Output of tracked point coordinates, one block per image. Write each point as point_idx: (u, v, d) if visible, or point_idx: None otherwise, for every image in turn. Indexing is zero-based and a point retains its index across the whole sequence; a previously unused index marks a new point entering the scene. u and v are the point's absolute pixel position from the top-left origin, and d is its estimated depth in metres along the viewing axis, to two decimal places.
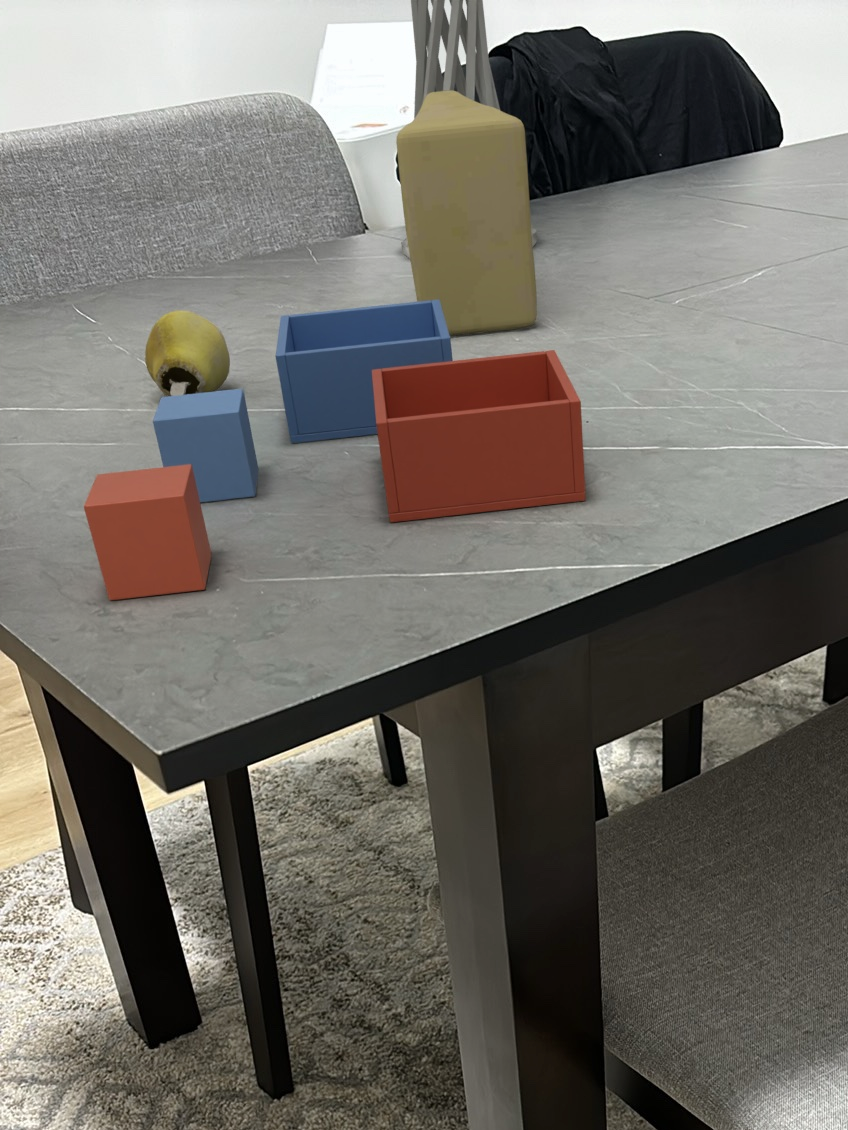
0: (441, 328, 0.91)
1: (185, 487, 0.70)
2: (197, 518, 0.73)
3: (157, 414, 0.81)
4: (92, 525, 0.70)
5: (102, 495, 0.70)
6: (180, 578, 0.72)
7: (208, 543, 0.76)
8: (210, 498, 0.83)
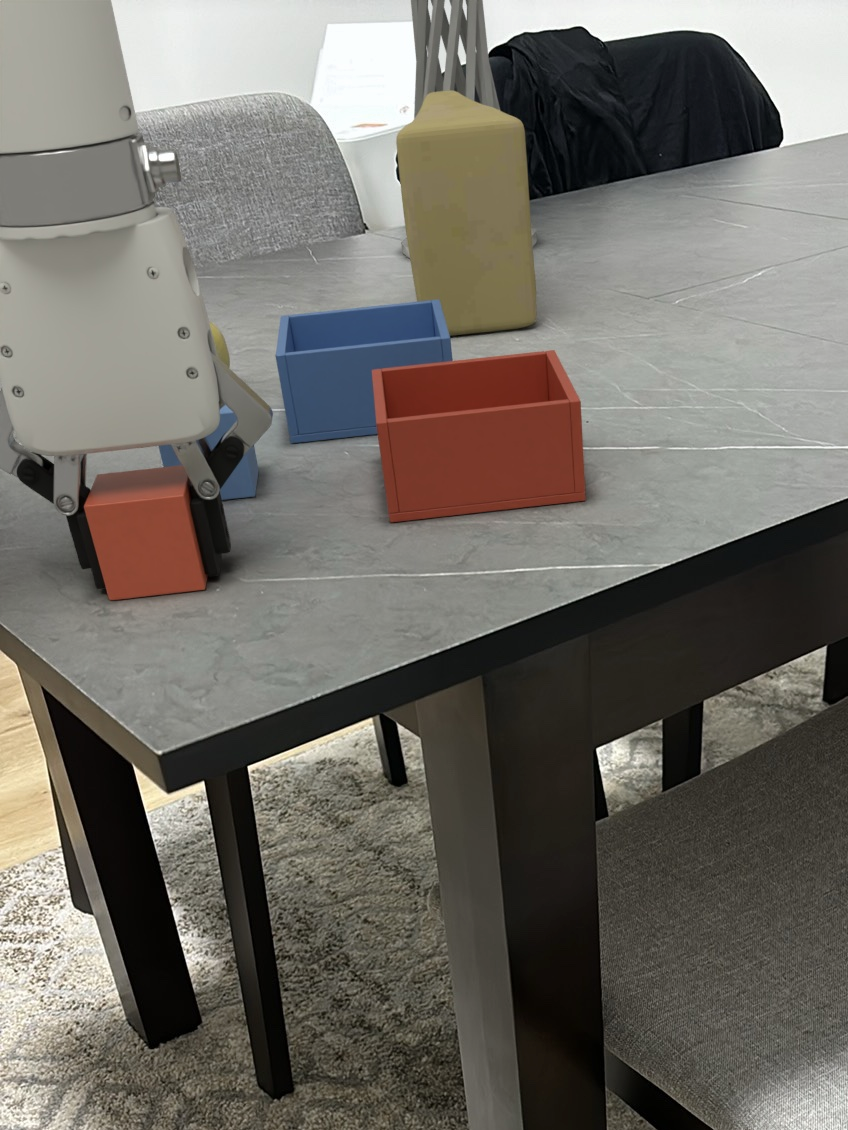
0: (441, 328, 0.91)
1: (185, 487, 0.70)
2: None
3: None
4: (92, 525, 0.70)
5: (102, 495, 0.70)
6: (180, 578, 0.72)
7: None
8: None
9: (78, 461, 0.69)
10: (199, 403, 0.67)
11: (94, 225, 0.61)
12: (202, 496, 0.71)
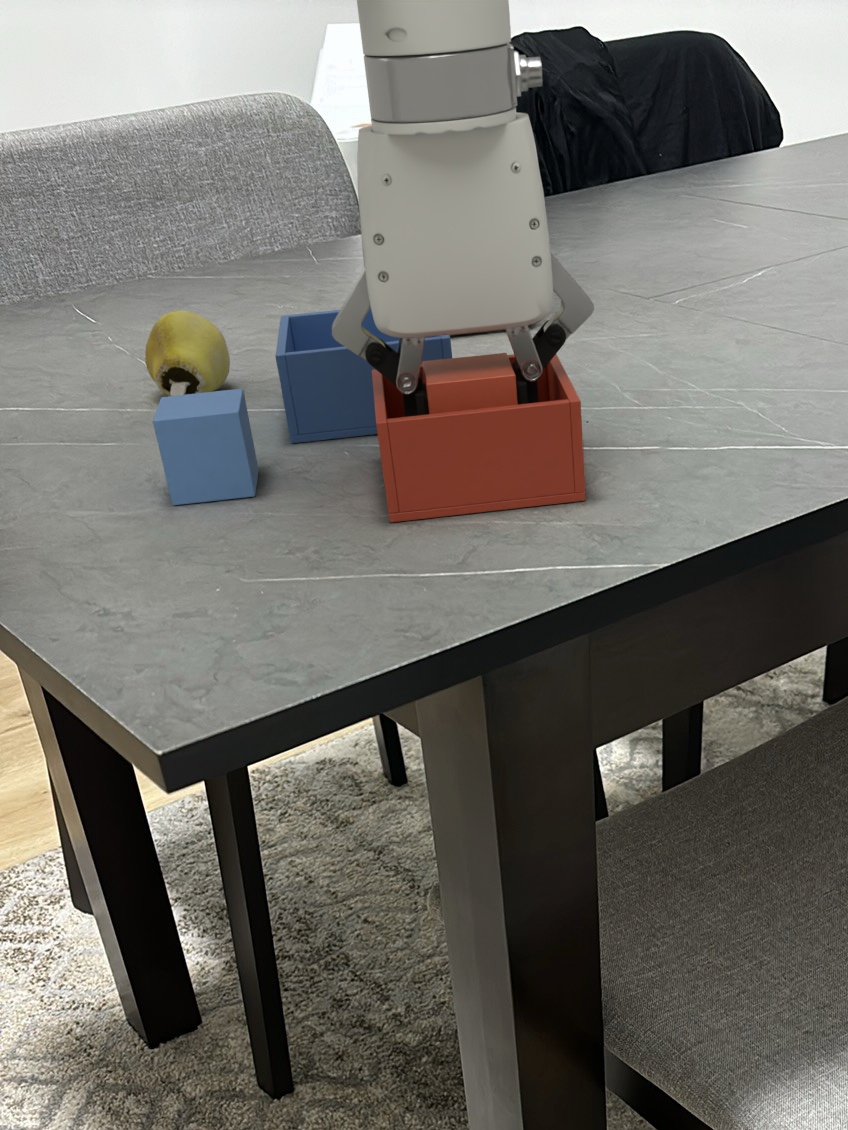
0: None
1: (512, 369, 0.78)
2: None
3: (157, 414, 0.81)
4: (432, 402, 0.78)
5: (439, 376, 0.78)
6: None
7: None
8: (210, 498, 0.83)
9: (423, 343, 0.77)
10: (539, 289, 0.75)
11: (477, 121, 0.69)
12: (526, 378, 0.79)
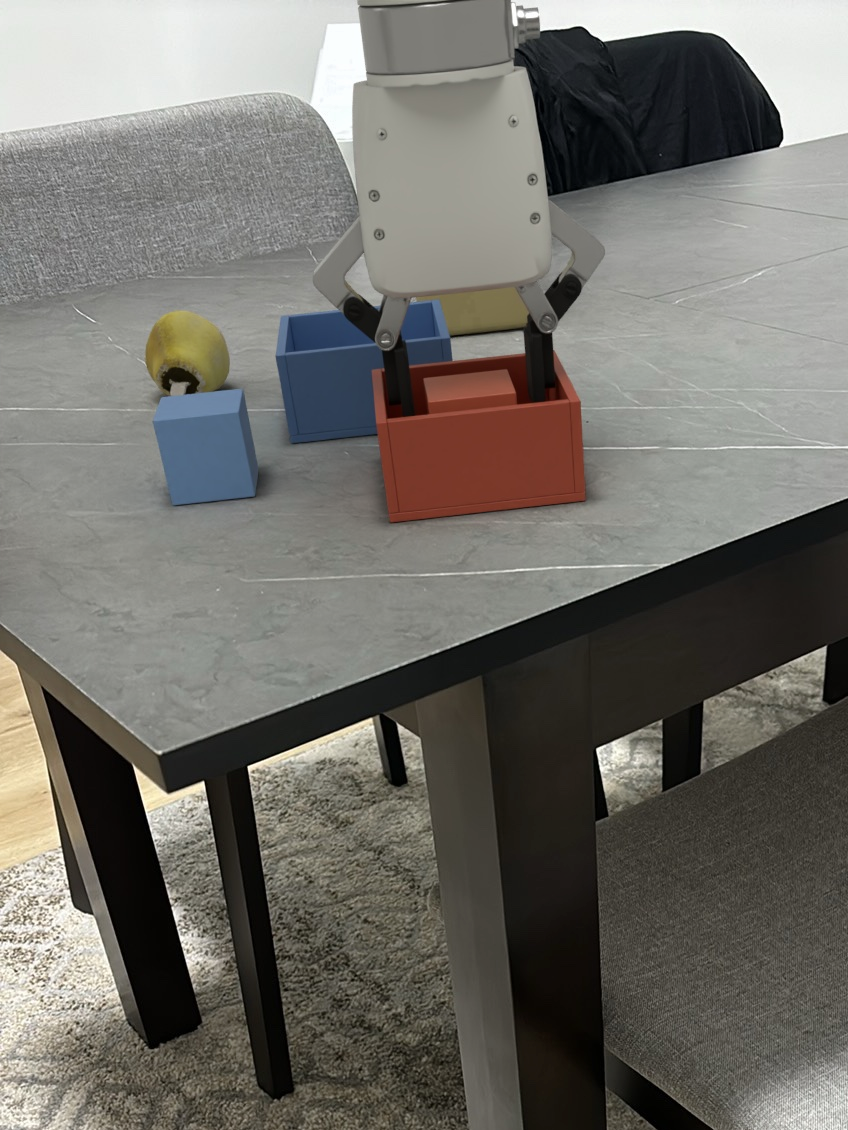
0: (441, 328, 0.91)
1: (513, 386, 0.79)
2: None
3: (157, 414, 0.81)
4: None
5: (440, 393, 0.79)
6: None
7: None
8: (210, 498, 0.83)
9: (409, 302, 0.75)
10: (537, 247, 0.74)
11: (474, 73, 0.68)
12: (541, 330, 0.77)
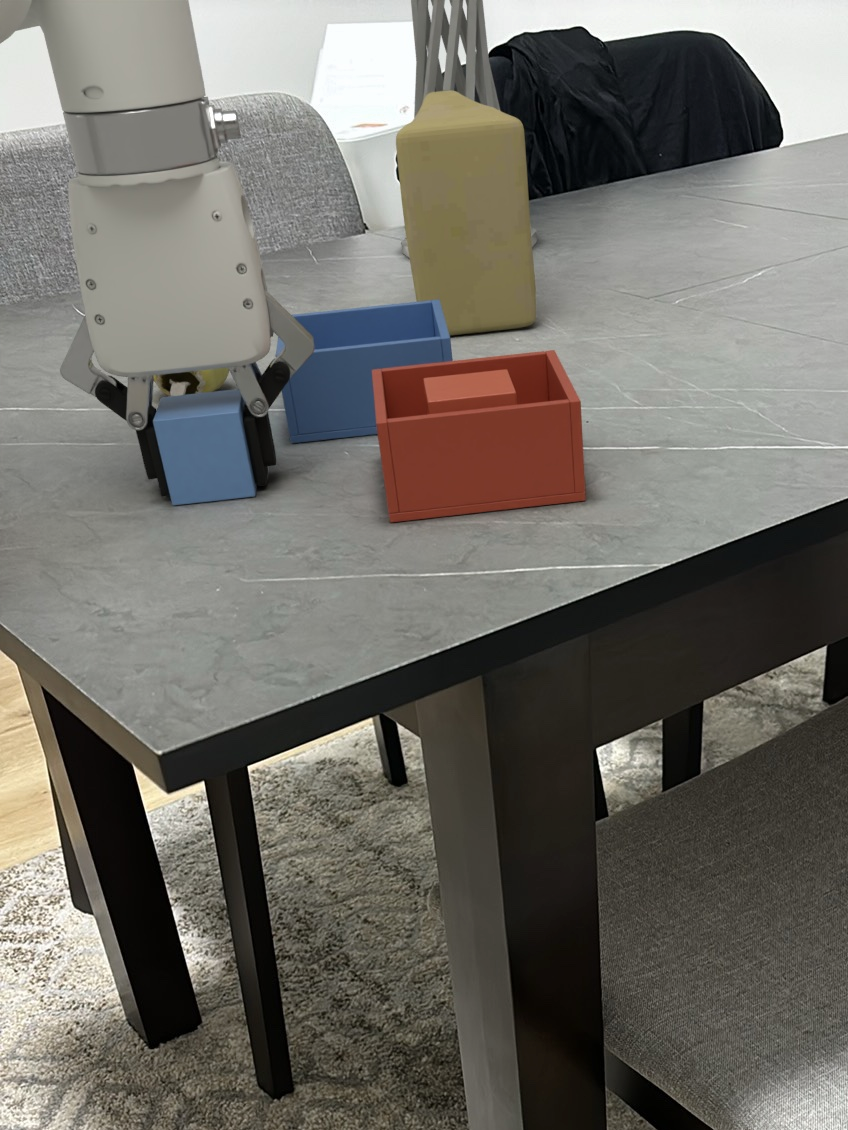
0: (441, 328, 0.91)
1: (513, 386, 0.79)
2: None
3: (157, 414, 0.81)
4: None
5: (440, 393, 0.79)
6: None
7: None
8: (210, 498, 0.83)
9: (148, 382, 0.80)
10: (253, 330, 0.78)
11: (169, 174, 0.72)
12: (254, 414, 0.82)
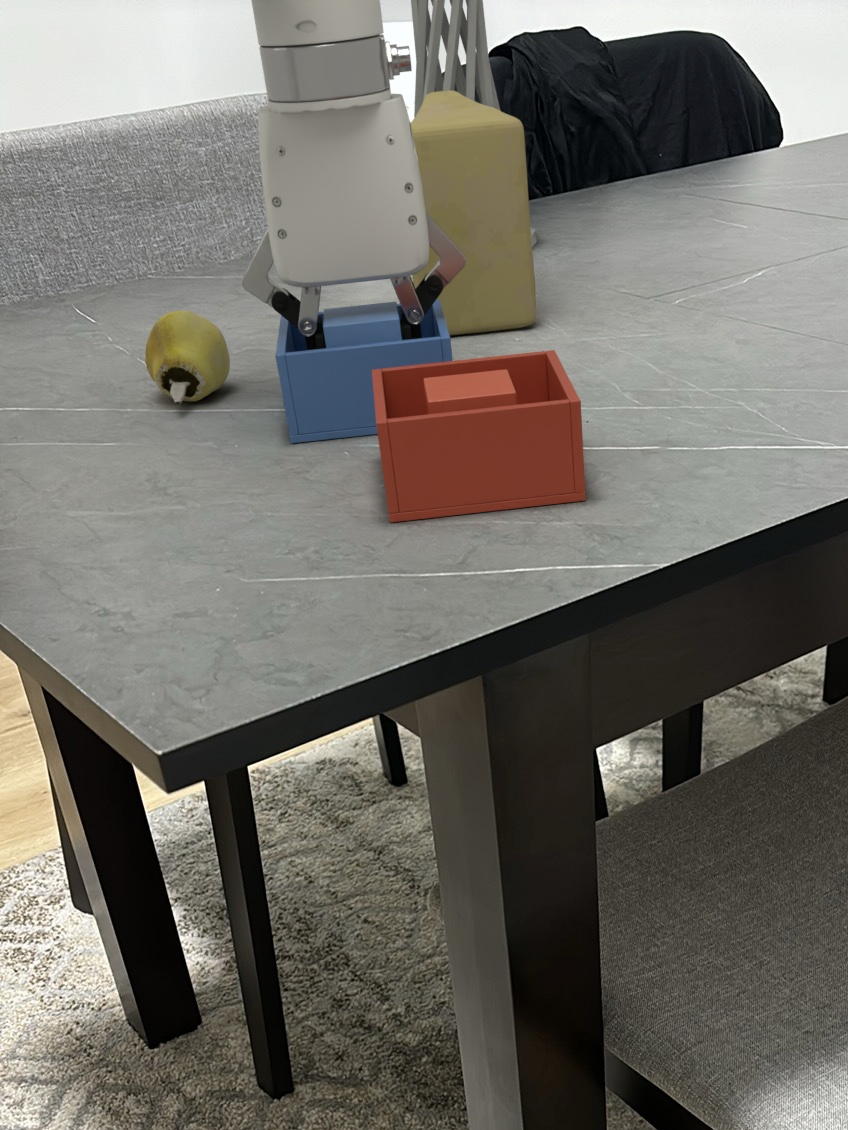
0: (441, 328, 0.91)
1: (513, 386, 0.79)
2: None
3: (325, 321, 0.91)
4: None
5: (440, 393, 0.79)
6: None
7: None
8: None
9: (319, 292, 0.90)
10: (416, 244, 0.88)
11: (354, 101, 0.82)
12: (410, 322, 0.92)
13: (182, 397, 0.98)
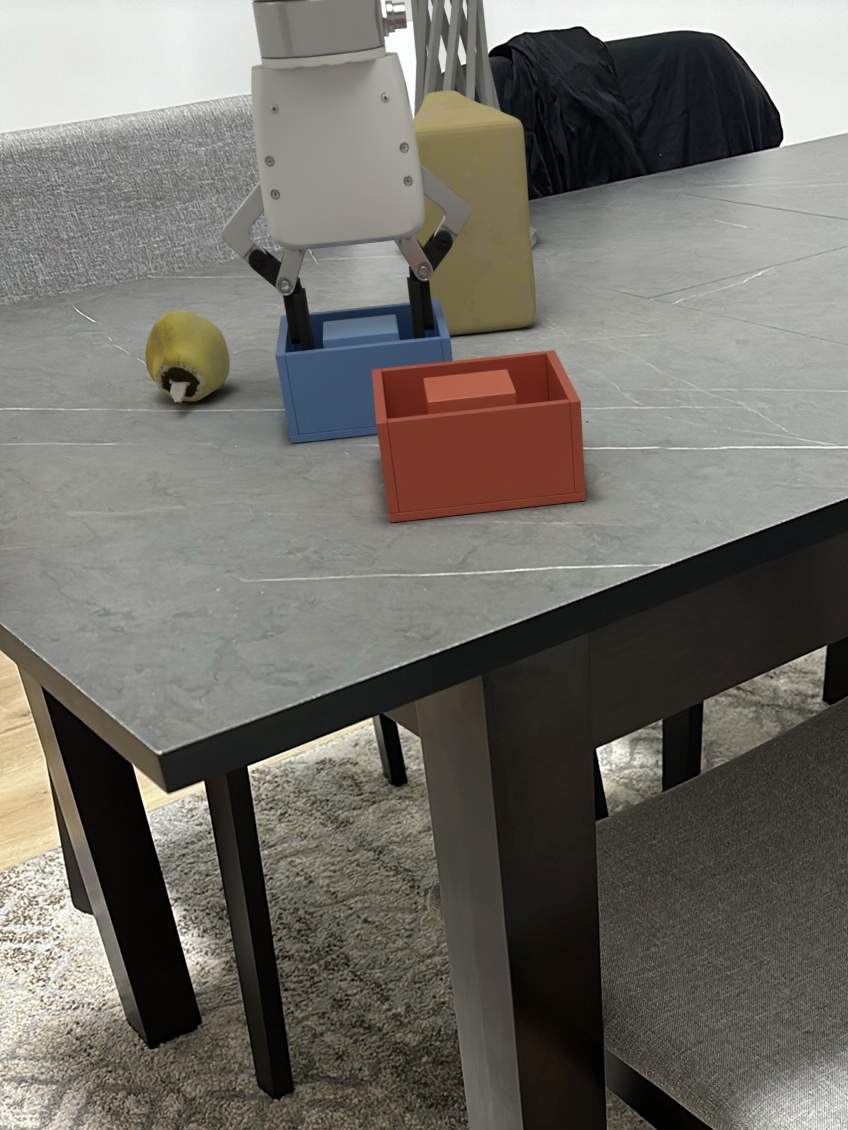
0: (441, 328, 0.91)
1: (513, 386, 0.79)
2: None
3: (325, 334, 0.92)
4: None
5: (440, 393, 0.79)
6: None
7: None
8: None
9: (304, 253, 0.89)
10: (411, 206, 0.87)
11: (348, 57, 0.81)
12: (419, 278, 0.90)
13: (182, 397, 0.98)
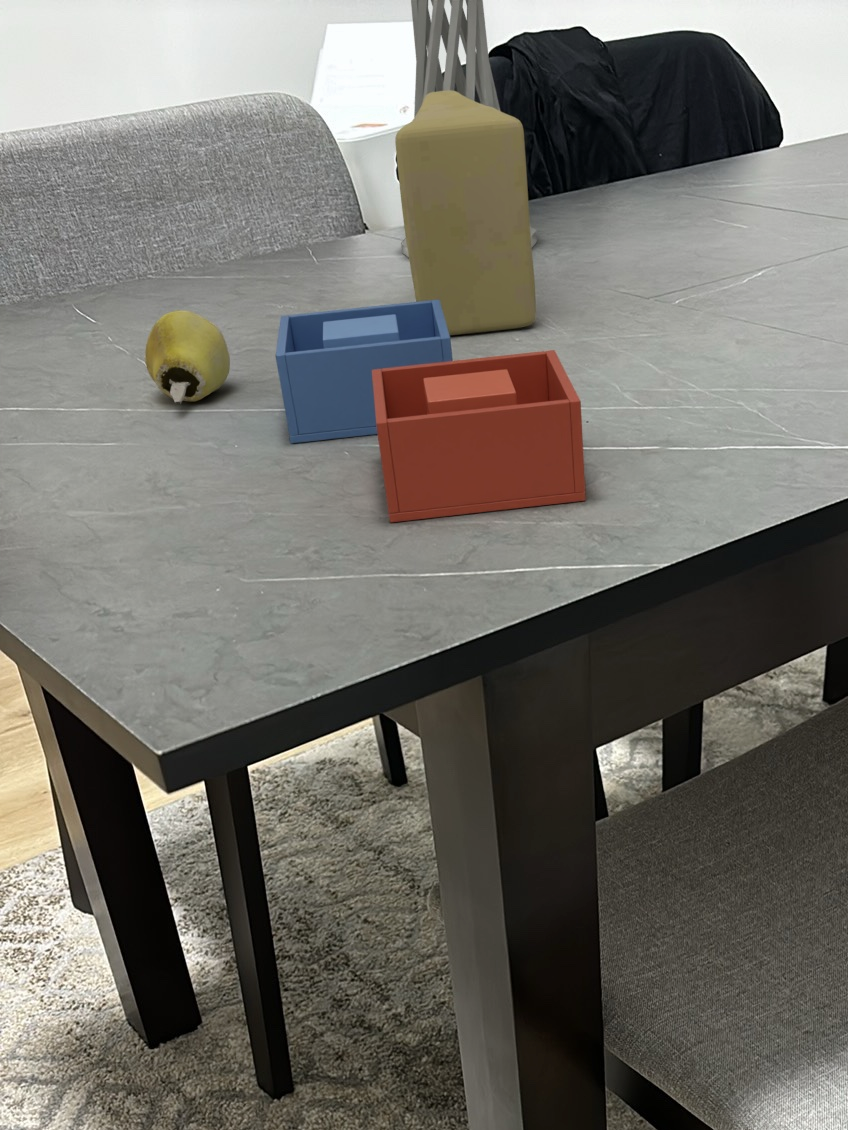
0: (441, 328, 0.91)
1: (513, 386, 0.79)
2: None
3: (325, 334, 0.92)
4: None
5: (440, 393, 0.79)
6: None
7: None
8: None
9: None
10: None
11: None
12: None
13: (182, 397, 0.98)
